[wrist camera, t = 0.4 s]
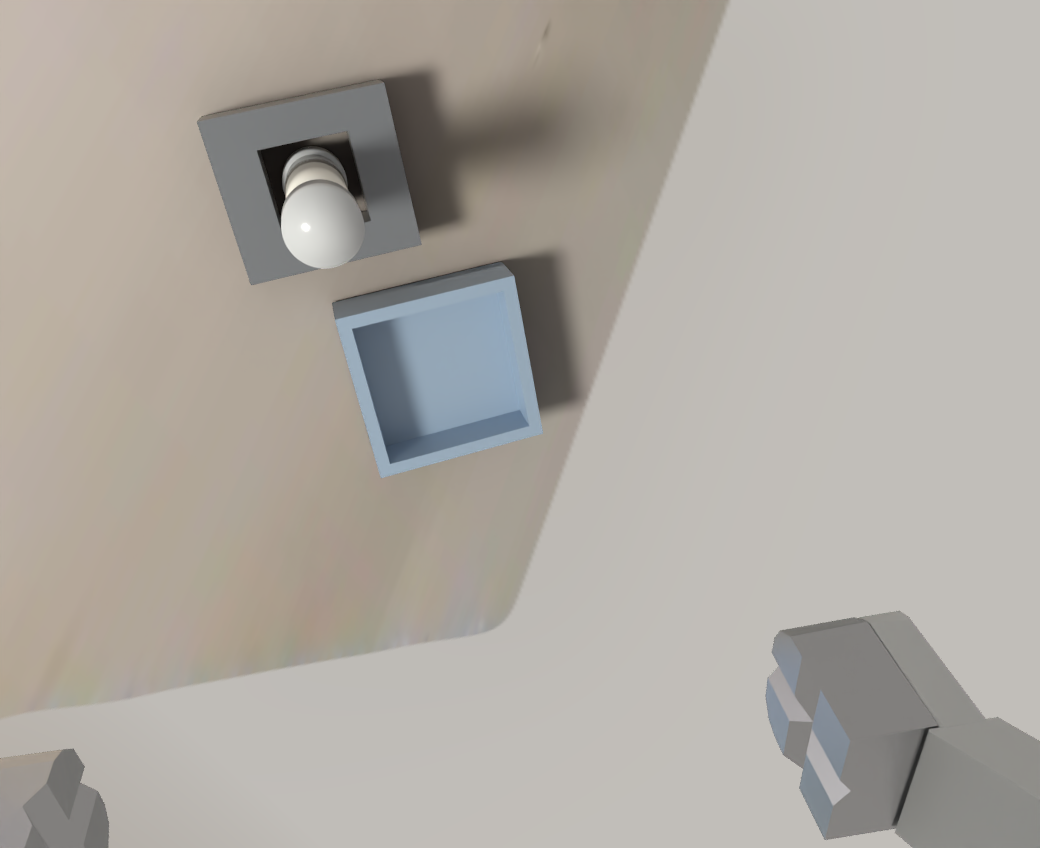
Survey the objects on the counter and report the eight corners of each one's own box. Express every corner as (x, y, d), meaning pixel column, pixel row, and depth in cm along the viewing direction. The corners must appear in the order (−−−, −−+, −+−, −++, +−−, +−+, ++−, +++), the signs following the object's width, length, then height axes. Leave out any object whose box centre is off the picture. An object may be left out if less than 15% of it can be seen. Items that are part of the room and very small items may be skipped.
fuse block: (201, 116, 47) (196, 121, 45) (379, 79, 49) (384, 82, 46) (252, 271, 51) (251, 285, 49) (414, 233, 53) (421, 244, 50)
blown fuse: (274, 153, 49) (270, 196, 37) (336, 140, 49) (353, 178, 37) (292, 215, 51) (294, 276, 38) (352, 201, 51) (373, 258, 39)
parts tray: (332, 302, 53) (335, 319, 50) (501, 261, 55) (514, 275, 52) (375, 454, 58) (380, 478, 55) (529, 412, 60) (543, 433, 57)
